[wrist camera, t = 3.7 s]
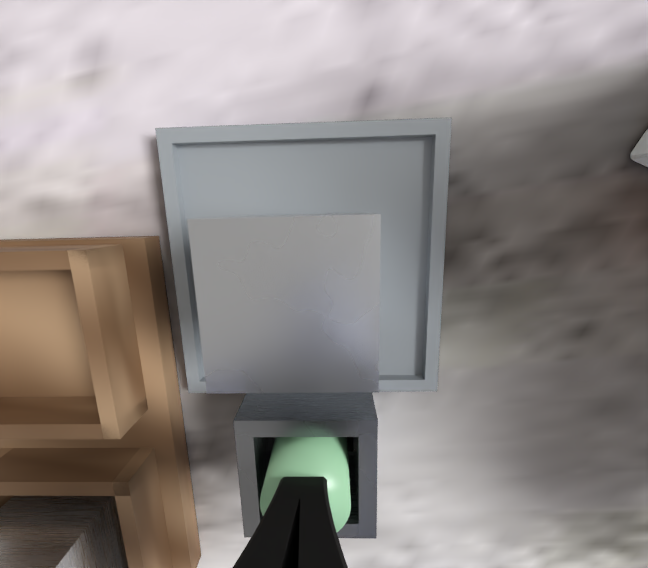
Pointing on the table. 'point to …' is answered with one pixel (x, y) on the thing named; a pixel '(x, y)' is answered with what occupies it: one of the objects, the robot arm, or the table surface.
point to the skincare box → (641, 150)
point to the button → (312, 470)
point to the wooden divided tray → (95, 388)
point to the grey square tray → (324, 197)
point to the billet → (288, 302)
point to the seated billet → (61, 533)
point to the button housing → (309, 421)
